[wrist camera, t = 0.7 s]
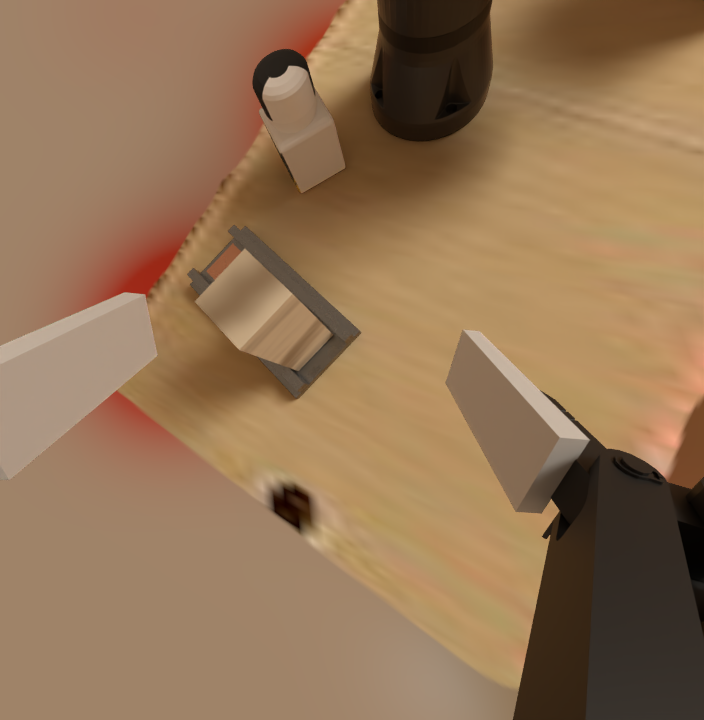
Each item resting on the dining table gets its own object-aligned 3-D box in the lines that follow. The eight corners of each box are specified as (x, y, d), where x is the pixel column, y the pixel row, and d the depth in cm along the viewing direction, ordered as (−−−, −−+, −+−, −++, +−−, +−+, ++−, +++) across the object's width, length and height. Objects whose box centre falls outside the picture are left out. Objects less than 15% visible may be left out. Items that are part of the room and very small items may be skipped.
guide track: (361, 332, 36) (357, 327, 34) (298, 398, 36) (290, 397, 34) (249, 230, 42) (239, 219, 39) (194, 287, 42) (181, 280, 39)
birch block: (333, 334, 36) (292, 293, 23) (298, 371, 36) (239, 350, 23) (300, 303, 37) (244, 248, 24) (266, 338, 37) (194, 301, 25)
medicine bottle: (281, 157, 43) (234, 63, 31) (325, 131, 42) (293, 25, 30) (300, 195, 41) (258, 110, 29) (346, 168, 40) (322, 71, 29)
